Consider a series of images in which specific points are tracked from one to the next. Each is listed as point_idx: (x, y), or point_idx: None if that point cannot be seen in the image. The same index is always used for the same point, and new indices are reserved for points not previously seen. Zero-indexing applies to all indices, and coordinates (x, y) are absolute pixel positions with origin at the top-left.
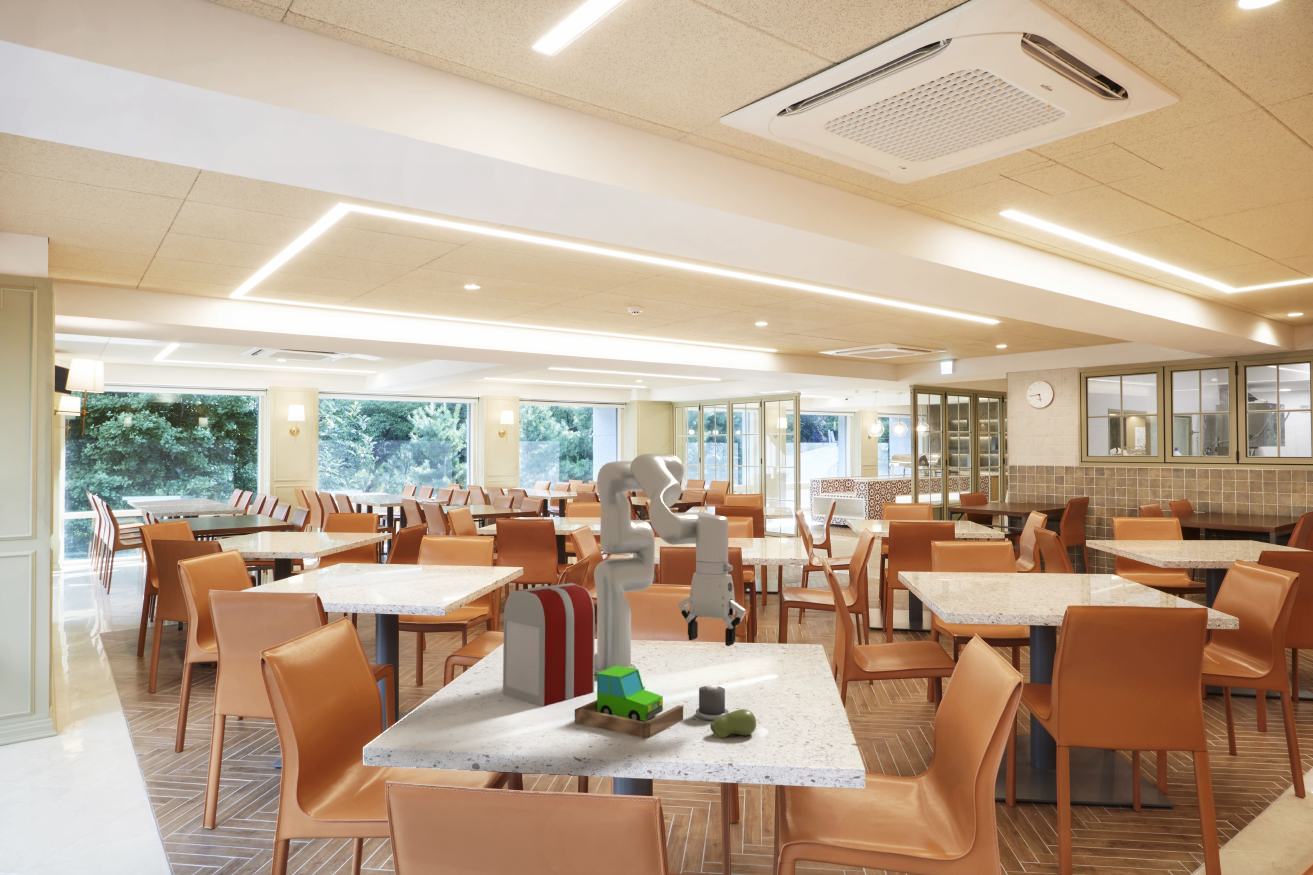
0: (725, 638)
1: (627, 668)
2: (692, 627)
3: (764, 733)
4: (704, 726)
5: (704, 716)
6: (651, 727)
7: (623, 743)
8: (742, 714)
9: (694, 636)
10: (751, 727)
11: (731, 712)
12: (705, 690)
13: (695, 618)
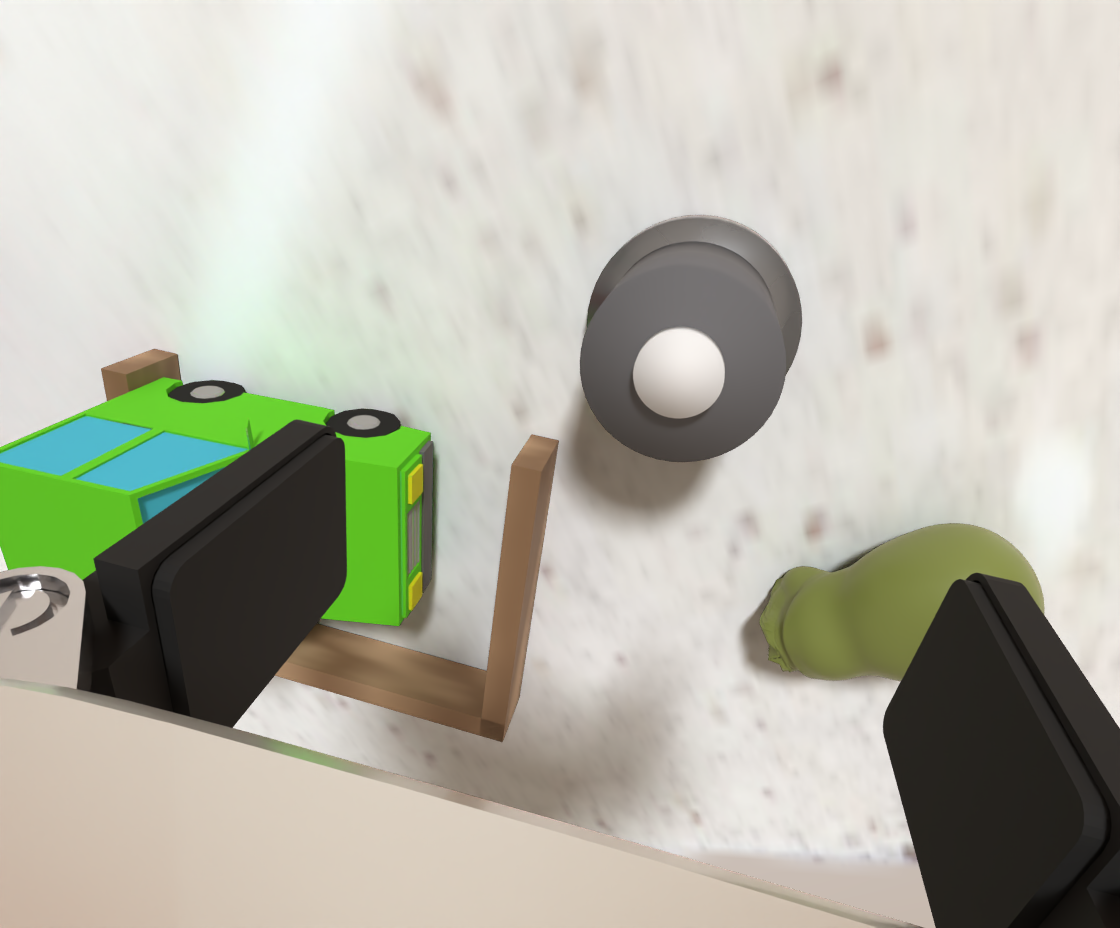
0: (906, 811)
1: (72, 503)
2: (240, 686)
3: (1065, 522)
4: (700, 507)
5: None
6: (512, 699)
7: (465, 745)
8: None
9: (329, 535)
10: None
11: (889, 644)
12: (641, 414)
13: (87, 680)
